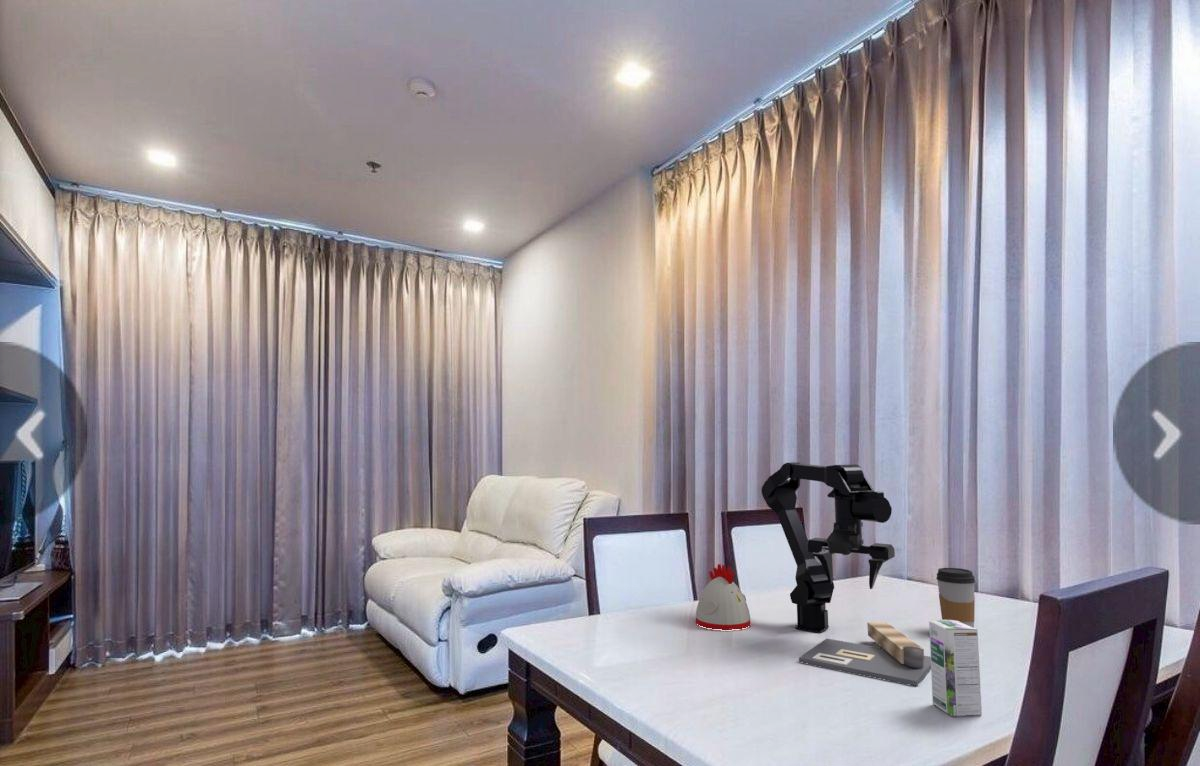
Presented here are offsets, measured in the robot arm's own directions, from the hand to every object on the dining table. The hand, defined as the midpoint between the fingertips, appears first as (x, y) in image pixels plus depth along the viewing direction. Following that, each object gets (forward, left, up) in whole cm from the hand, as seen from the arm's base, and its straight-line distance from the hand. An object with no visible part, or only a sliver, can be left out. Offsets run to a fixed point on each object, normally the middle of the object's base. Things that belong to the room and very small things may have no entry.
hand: (850, 586), depth 151 cm
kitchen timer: (-32, -3, -13) cm, 35 cm away
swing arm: (+10, -4, -12) cm, 16 cm away
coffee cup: (+18, +22, -13) cm, 31 cm away
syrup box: (+26, -28, -13) cm, 40 cm away
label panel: (+7, -12, -13) cm, 19 cm away
